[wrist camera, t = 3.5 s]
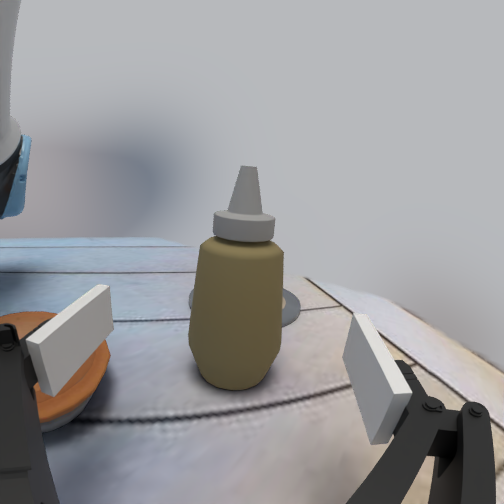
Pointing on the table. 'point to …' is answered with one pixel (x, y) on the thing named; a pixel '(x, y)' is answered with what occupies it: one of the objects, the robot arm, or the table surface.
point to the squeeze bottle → (238, 292)
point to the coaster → (288, 307)
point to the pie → (78, 386)
